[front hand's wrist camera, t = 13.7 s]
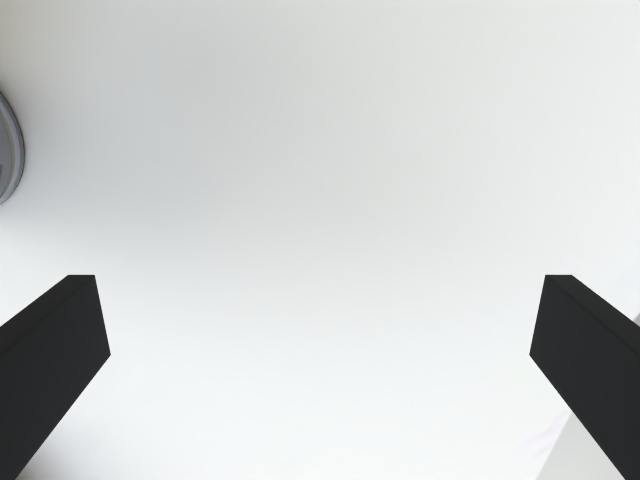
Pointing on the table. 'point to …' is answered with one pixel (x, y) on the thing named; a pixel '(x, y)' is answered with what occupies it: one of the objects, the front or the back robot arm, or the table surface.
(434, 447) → the table surface
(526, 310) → the table surface
